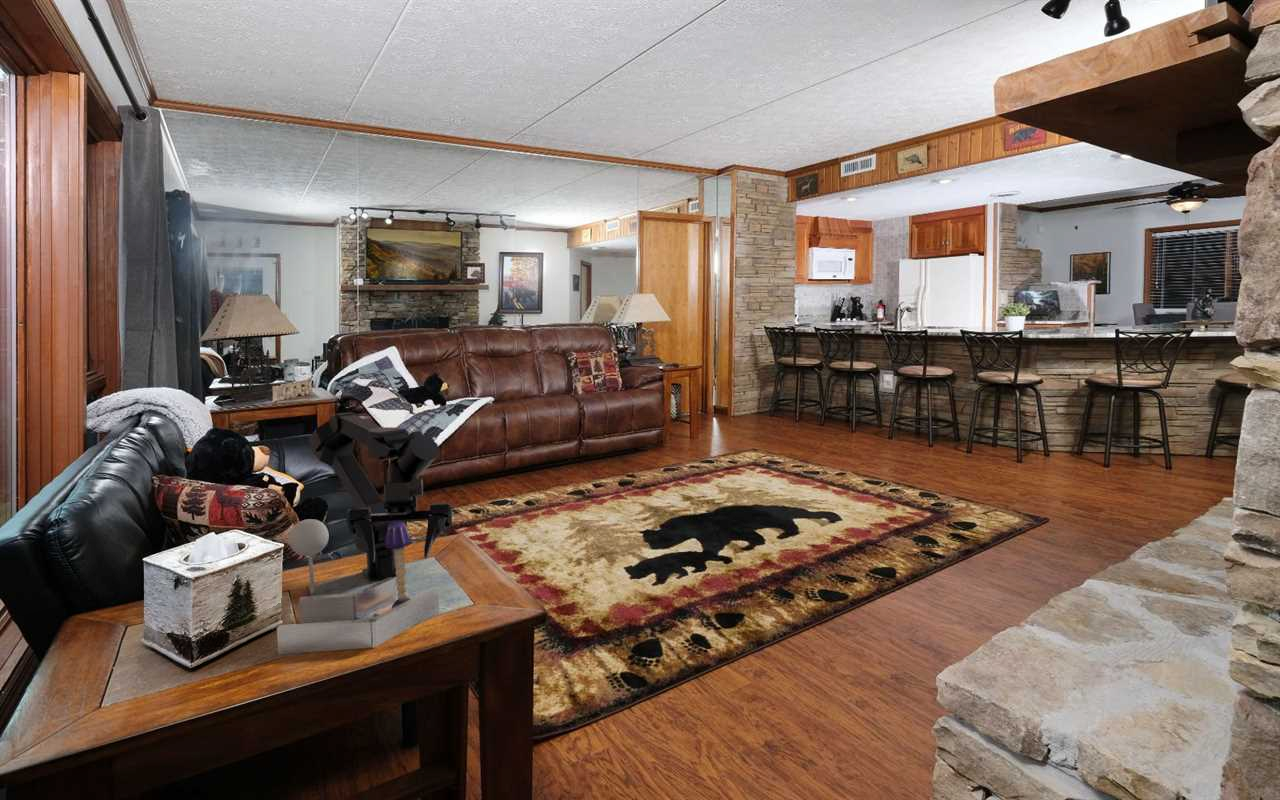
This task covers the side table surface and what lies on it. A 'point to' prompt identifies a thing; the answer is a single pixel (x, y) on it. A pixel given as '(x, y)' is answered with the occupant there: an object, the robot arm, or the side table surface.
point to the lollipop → (309, 541)
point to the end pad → (383, 610)
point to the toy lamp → (399, 556)
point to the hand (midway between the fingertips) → (399, 559)
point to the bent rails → (349, 608)
